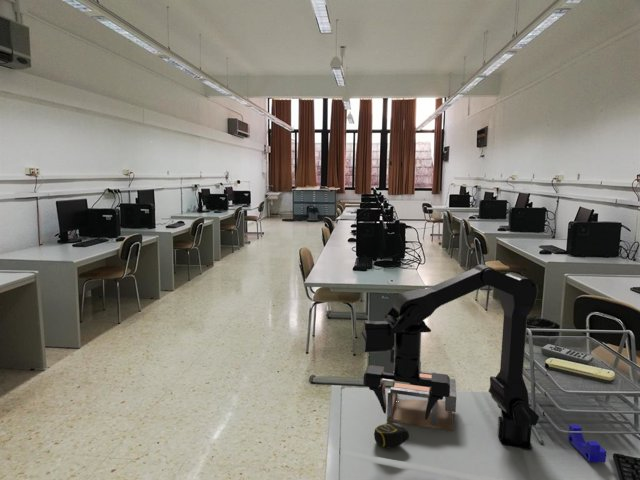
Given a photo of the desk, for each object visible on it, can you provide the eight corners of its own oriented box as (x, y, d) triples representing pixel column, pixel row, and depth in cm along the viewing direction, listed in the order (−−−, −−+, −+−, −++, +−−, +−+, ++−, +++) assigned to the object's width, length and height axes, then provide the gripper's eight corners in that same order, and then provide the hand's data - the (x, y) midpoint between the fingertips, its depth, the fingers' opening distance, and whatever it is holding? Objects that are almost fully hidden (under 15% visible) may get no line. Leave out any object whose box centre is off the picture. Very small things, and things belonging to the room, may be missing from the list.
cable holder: (605, 462, 94) (607, 445, 93) (589, 462, 93) (591, 445, 93) (582, 440, 101) (584, 424, 101) (568, 440, 101) (569, 424, 101)
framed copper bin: (451, 403, 117) (453, 374, 116) (452, 431, 104) (454, 398, 103) (393, 395, 122) (393, 366, 121) (386, 420, 109) (387, 388, 108)
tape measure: (411, 443, 97) (409, 427, 97) (387, 454, 94) (385, 437, 94) (393, 434, 103) (390, 419, 103) (370, 444, 100) (367, 428, 100)
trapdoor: (454, 393, 115) (455, 377, 114) (455, 412, 106) (456, 394, 105) (397, 385, 119) (397, 369, 119) (393, 403, 110) (393, 386, 109)
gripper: (450, 342, 101) (447, 404, 103) (371, 333, 106) (370, 393, 108) (451, 360, 90) (448, 429, 92) (363, 350, 95) (362, 416, 97)
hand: (405, 415), depth 98 cm, fingers open, 9 cm apart
